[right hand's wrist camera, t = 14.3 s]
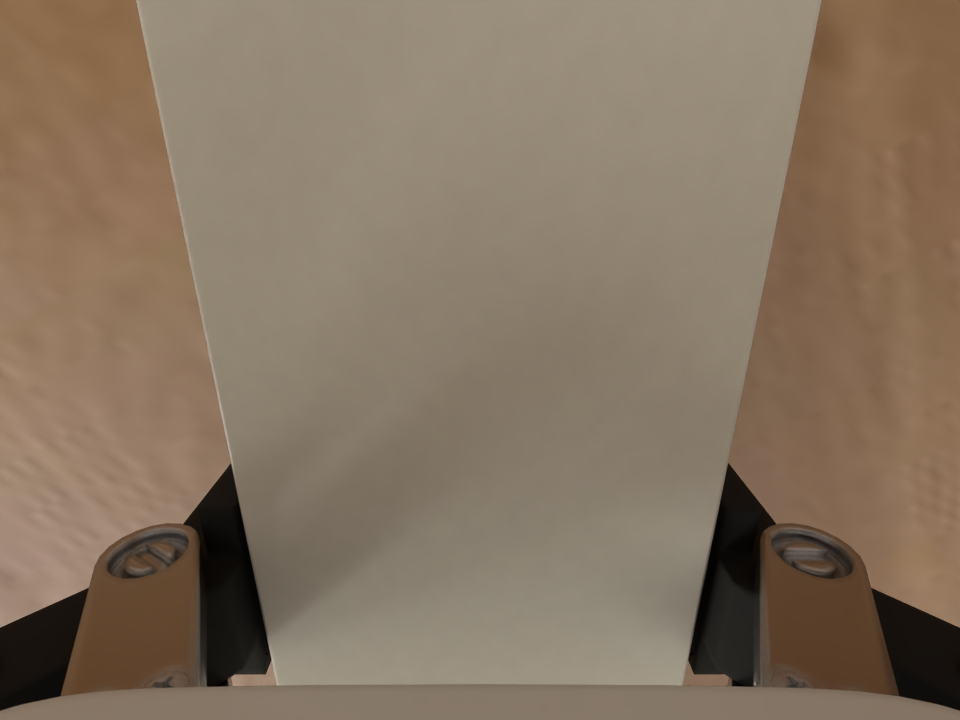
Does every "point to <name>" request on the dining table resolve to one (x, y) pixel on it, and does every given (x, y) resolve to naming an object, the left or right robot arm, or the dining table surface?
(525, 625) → the bar
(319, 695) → the right robot arm
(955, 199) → the dining table surface
